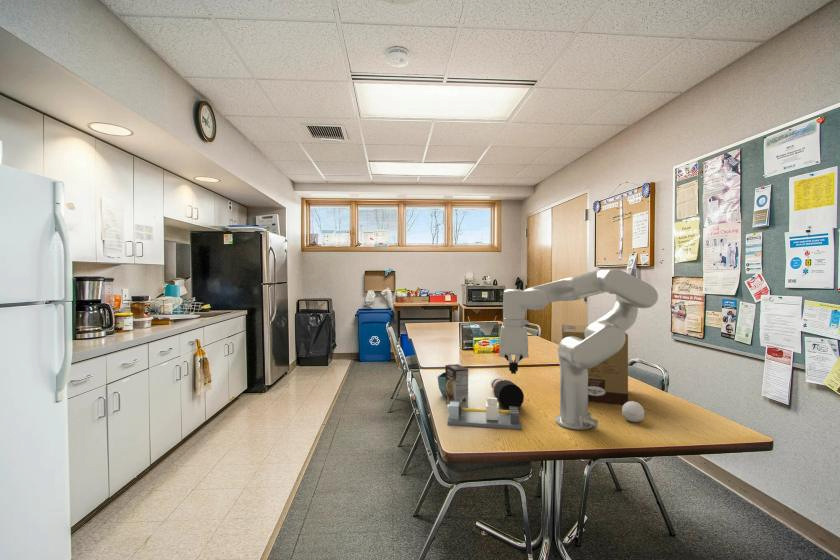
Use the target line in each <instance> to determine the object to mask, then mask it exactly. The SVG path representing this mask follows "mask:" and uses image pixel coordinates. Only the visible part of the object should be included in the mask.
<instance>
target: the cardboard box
mask: <svg viewBox="0 0 840 560" xmlns="http://www.w3.org/2000/svg"><path fill="white" fill-rule="evenodd" d="M589 325H590V324H589ZM589 325H588V324H586V325H585V324H584V325H583V324H566V323H565V324H562V325H561V341H562V340H563V339H564V338H566V337H570V336H573V337H578V338H580V339H583V340H584V339H586V338H585V336H584V333H585V329H586V328H587V327H588V326H589ZM624 333H625V337H626V339H625V343H624V345H623V347H622V348H621V349H620V350H619V351H618V352H617V353H615V354H614V355H612V356H611V357H609V358H607V359H606V360H604V361H603V362H601V363H600V364H598V365H596V366H595V367H592V368H590V369H587V370H588V403H597V404H608V405H616V406H617V405H618V406H623V405H624V404H625V403H626V402H629V335H628V333H627V331H625V332H624Z"/></svg>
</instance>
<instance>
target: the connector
mask: <svg viewBox="0 0 840 560" xmlns="http://www.w3.org/2000/svg"><path fill="white" fill-rule="evenodd" d="M446 409H447V410H446V413H447V414H448V418H449V419H459V415H461V414H462V412H463V411H462V410H461V409H462V404H460V403H459V402H452V401H450V404H447V405H446Z"/></svg>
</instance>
